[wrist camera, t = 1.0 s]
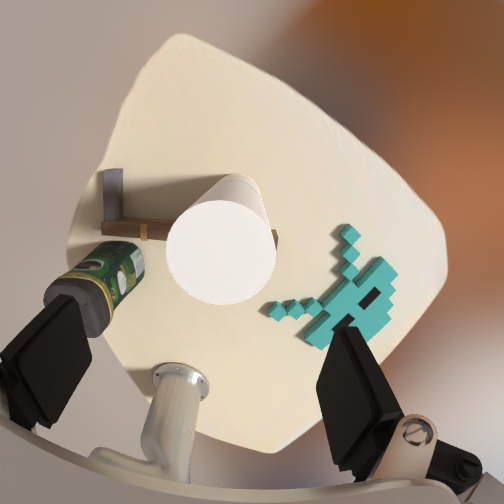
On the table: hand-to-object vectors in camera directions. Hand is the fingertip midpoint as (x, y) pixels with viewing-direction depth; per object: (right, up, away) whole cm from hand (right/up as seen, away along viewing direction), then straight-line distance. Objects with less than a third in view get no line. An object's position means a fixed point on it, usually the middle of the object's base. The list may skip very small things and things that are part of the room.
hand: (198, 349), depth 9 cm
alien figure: (+19, -5, +39) cm, 44 cm away
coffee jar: (-21, +2, +36) cm, 41 cm away
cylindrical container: (0, +12, +32) cm, 34 cm away
